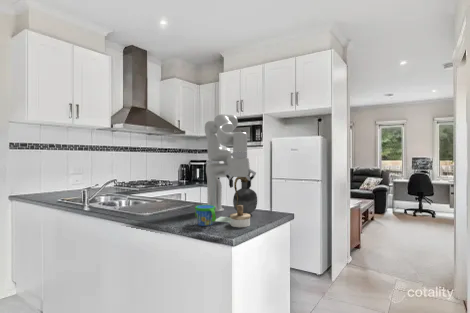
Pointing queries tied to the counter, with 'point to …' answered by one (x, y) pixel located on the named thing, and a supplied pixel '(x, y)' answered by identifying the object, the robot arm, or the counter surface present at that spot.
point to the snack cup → (205, 214)
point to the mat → (223, 219)
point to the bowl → (239, 222)
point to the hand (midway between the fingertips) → (240, 187)
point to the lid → (240, 214)
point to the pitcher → (244, 196)
